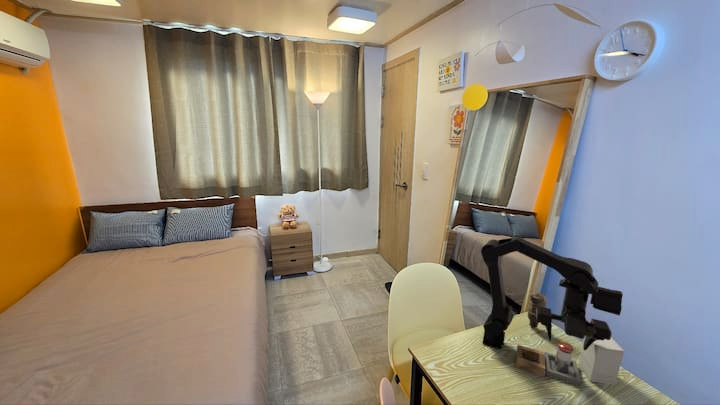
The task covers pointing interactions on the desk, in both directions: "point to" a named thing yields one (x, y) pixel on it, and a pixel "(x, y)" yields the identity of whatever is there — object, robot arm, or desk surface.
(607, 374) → the supplement box
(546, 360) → the tray
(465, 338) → the desk surface
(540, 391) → the desk surface
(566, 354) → the grey and red cylinder
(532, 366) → the socket block
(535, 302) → the light bulb
